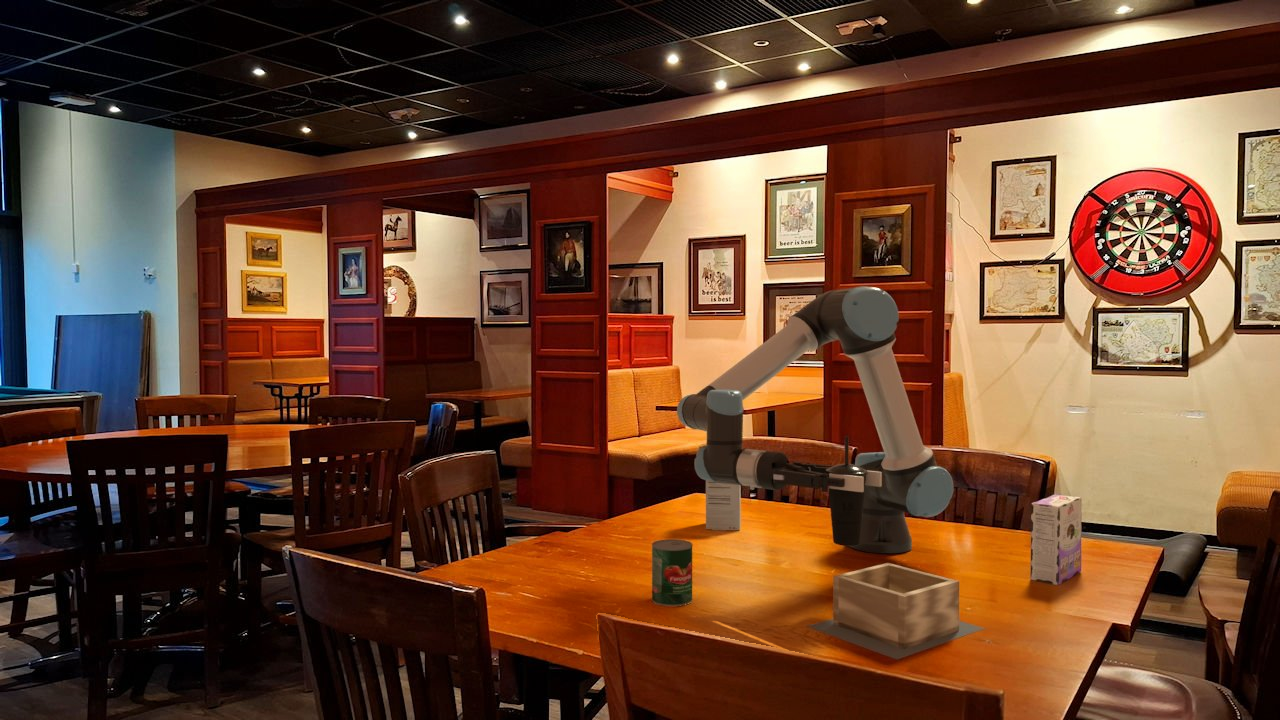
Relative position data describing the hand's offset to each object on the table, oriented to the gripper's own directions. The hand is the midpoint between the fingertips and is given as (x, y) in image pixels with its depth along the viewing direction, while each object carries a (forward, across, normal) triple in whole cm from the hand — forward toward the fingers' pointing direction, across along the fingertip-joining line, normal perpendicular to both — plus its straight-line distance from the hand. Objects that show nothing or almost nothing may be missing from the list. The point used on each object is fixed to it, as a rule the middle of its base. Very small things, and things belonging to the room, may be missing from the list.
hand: (871, 481), depth 155 cm
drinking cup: (-5, 0, -12) cm, 13 cm away
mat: (+7, +6, -24) cm, 26 cm away
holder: (+7, +6, -24) cm, 26 cm away
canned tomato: (-33, +17, -24) cm, 44 cm away
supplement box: (-62, -42, -24) cm, 79 cm away
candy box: (+20, -48, -24) cm, 57 cm away
